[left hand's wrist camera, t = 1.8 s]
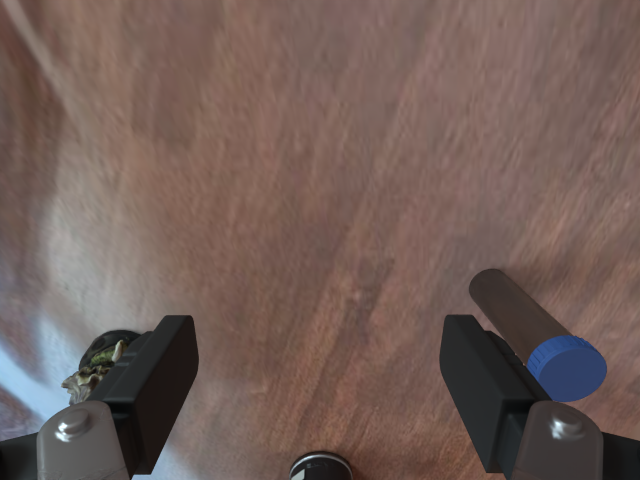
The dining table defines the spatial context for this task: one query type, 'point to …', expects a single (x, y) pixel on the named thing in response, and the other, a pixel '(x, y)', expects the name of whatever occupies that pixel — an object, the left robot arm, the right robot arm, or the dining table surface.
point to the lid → (567, 368)
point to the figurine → (97, 363)
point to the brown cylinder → (514, 313)
